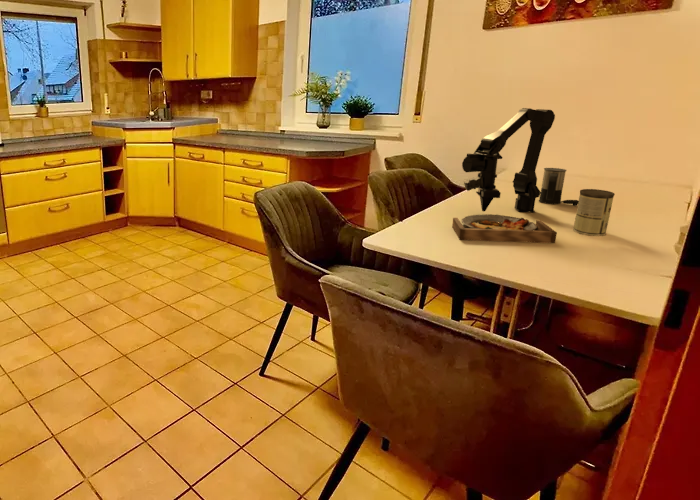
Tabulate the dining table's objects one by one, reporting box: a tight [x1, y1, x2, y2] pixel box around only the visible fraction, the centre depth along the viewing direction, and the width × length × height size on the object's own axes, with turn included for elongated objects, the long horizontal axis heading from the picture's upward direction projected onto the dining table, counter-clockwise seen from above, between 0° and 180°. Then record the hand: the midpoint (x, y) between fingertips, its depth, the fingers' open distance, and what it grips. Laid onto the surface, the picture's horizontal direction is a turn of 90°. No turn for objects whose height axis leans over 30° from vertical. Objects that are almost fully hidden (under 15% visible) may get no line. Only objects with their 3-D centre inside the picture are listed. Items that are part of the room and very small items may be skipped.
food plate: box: [460, 213, 538, 231], centre depth 156 cm, size 25×23×4 cm
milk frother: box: [538, 167, 579, 207], centre depth 193 cm, size 14×16×15 cm
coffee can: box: [572, 188, 615, 237], centre depth 152 cm, size 10×10×14 cm
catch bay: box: [451, 217, 558, 244], centre depth 148 cm, size 30×14×4 cm, turn 87°
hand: (483, 211), depth 173 cm, fingers closed
